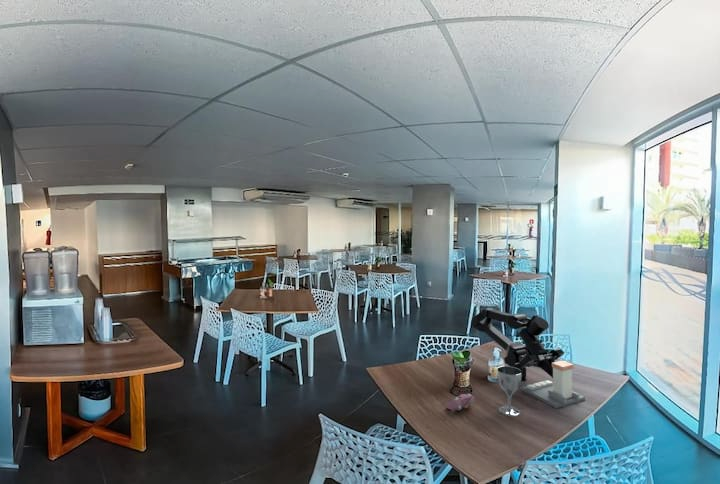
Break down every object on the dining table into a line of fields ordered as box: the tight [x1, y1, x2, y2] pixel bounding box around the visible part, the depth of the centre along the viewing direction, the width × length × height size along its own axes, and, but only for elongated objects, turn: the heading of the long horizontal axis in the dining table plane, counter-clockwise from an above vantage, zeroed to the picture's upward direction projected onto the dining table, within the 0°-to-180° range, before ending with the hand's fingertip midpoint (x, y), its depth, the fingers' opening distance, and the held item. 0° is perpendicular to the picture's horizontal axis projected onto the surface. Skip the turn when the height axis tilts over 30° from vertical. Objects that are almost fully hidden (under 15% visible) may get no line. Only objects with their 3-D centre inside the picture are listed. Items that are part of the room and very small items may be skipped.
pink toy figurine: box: [446, 393, 476, 411], centre depth 131 cm, size 10×5×7 cm, turn 118°
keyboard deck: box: [520, 379, 586, 409], centre depth 140 cm, size 16×15×3 cm
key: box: [552, 360, 574, 399], centre depth 136 cm, size 5×6×12 cm
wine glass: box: [496, 365, 522, 417], centre depth 129 cm, size 8×8×15 cm
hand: (555, 378), depth 139 cm, fingers closed
